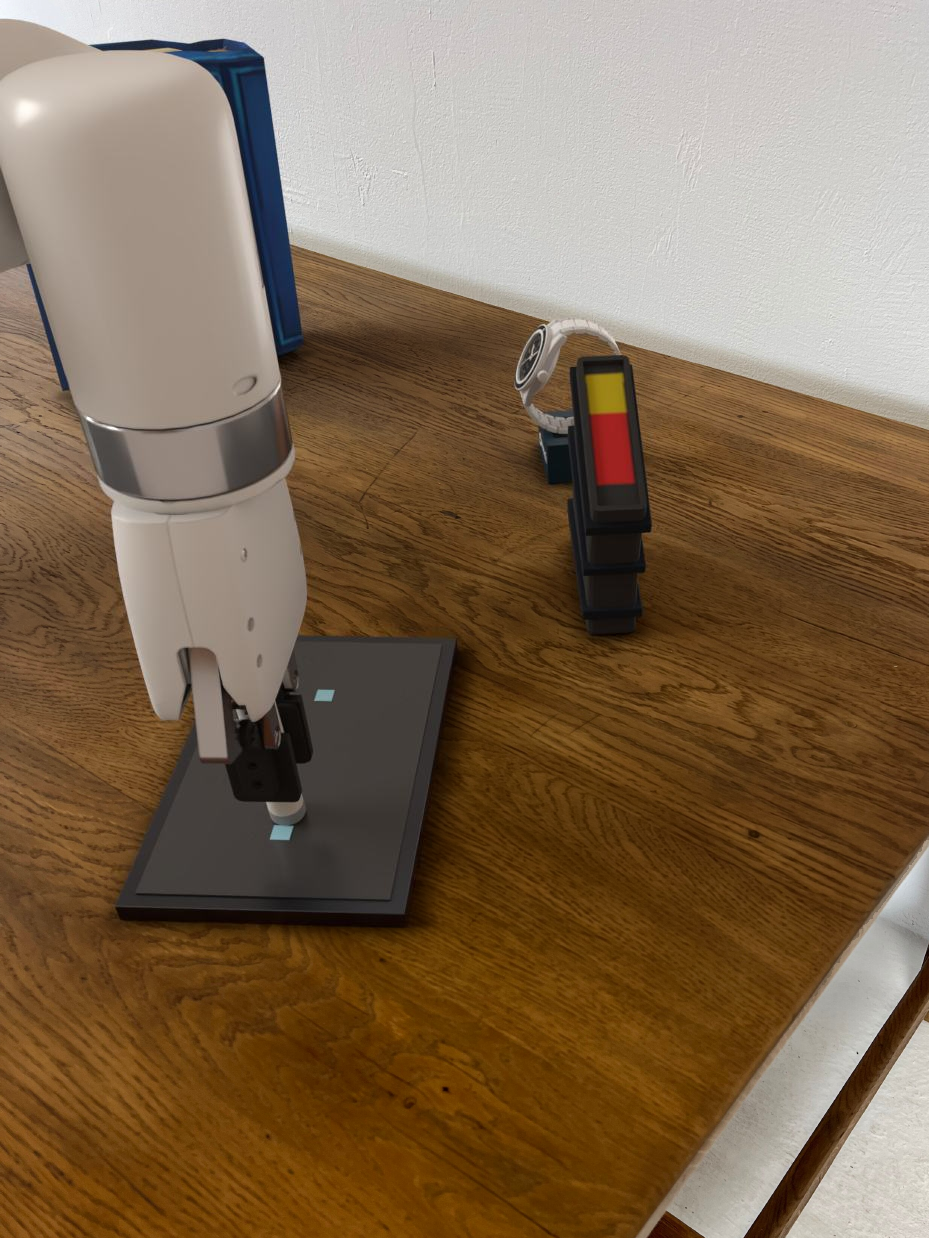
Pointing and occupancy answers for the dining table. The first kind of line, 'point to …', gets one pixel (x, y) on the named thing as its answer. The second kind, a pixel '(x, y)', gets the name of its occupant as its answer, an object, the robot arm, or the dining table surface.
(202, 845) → the tablet
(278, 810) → the stylus
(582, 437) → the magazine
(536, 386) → the watch
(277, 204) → the book
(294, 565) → the robot arm
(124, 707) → the dining table surface
